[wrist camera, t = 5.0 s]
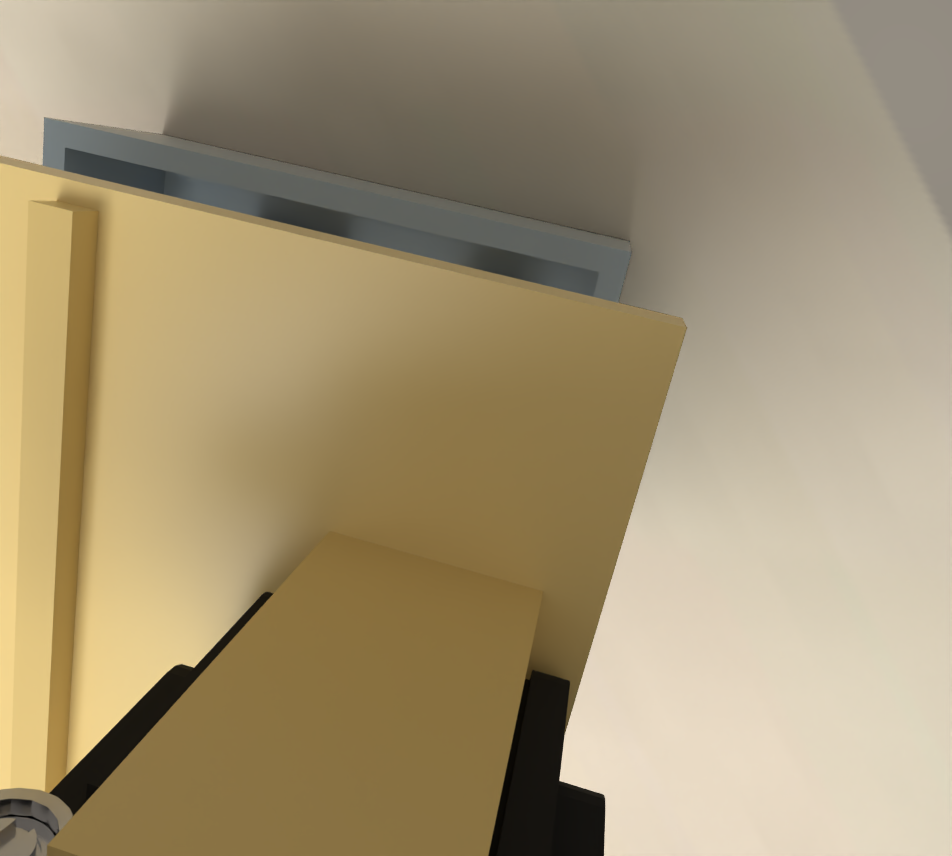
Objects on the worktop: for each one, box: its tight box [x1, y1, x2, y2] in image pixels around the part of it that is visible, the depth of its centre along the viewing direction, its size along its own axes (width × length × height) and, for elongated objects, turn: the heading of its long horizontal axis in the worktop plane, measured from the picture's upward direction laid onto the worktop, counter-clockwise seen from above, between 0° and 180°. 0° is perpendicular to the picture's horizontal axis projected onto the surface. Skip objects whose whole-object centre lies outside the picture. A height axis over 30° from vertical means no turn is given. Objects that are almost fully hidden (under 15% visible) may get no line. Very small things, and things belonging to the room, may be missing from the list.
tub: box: [43, 117, 632, 303], centre depth 30 cm, size 20×12×7 cm, turn 78°
